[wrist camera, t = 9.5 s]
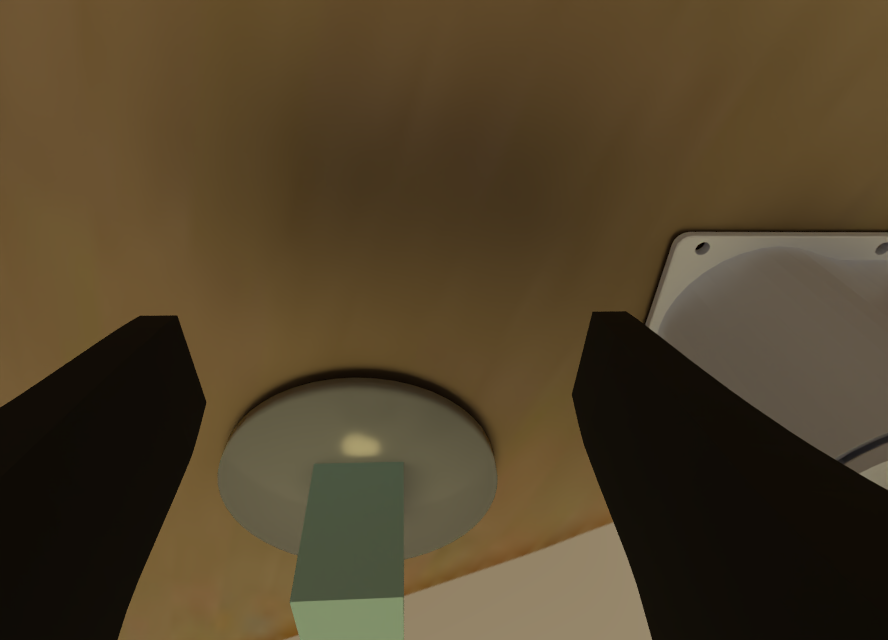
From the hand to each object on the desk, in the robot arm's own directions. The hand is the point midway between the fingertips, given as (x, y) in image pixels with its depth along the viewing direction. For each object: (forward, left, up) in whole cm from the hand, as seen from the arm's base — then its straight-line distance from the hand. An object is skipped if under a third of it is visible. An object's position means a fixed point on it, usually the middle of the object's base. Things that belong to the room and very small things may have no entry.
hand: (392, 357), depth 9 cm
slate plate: (+2, +15, -9) cm, 18 cm away
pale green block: (+2, +15, -8) cm, 17 cm away
